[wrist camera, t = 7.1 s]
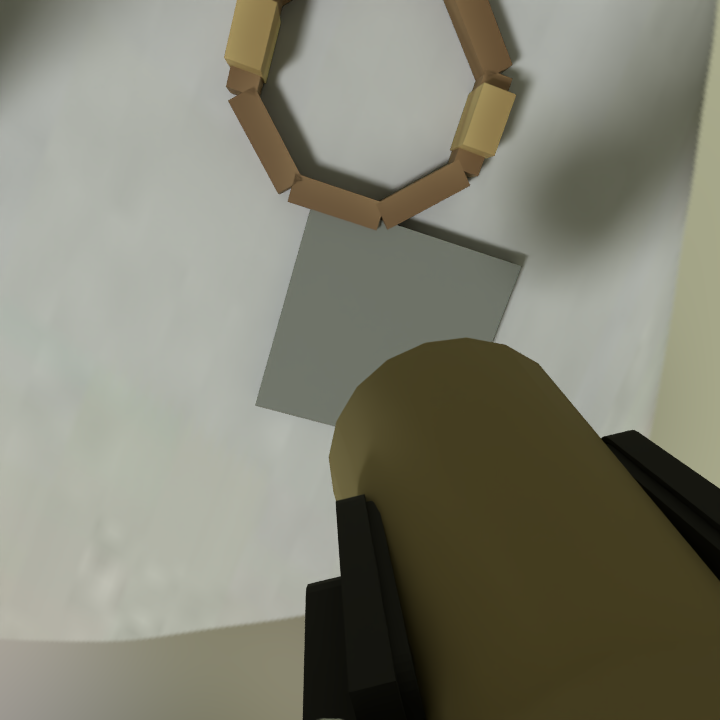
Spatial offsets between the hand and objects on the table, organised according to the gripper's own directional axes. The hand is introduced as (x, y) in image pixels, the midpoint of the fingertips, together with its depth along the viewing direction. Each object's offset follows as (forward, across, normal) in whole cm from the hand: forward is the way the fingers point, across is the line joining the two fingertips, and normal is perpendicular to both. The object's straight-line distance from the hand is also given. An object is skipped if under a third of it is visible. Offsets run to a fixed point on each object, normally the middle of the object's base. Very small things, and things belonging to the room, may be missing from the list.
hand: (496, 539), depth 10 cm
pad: (+17, 0, 0) cm, 17 cm away
